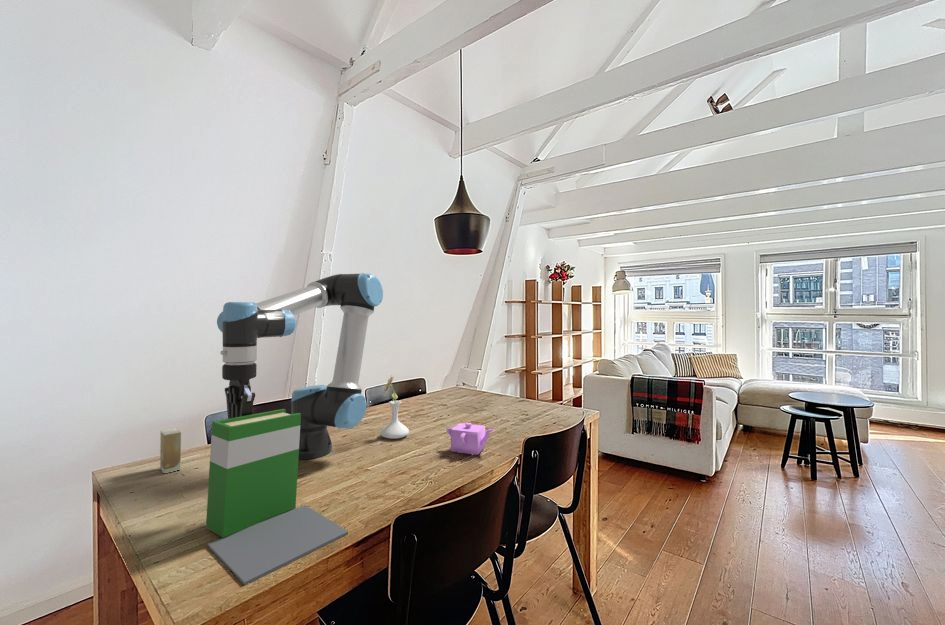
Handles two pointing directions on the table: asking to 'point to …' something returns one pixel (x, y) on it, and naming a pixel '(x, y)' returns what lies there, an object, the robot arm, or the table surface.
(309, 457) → the robot arm
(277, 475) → the hardback book
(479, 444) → the teapot
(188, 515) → the table surface
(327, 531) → the felt mat
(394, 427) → the flower in vase
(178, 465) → the skincare box
